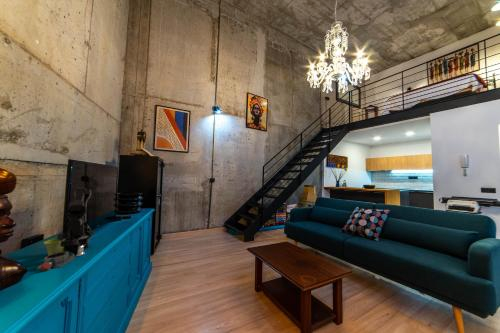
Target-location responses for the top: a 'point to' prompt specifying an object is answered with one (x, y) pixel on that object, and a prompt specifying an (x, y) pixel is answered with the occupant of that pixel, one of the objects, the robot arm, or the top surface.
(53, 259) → the valve body
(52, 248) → the plant pot
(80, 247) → the coupling
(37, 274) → the top surface
